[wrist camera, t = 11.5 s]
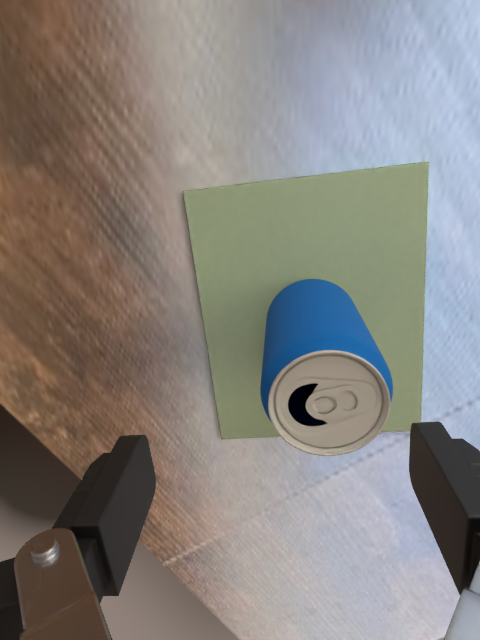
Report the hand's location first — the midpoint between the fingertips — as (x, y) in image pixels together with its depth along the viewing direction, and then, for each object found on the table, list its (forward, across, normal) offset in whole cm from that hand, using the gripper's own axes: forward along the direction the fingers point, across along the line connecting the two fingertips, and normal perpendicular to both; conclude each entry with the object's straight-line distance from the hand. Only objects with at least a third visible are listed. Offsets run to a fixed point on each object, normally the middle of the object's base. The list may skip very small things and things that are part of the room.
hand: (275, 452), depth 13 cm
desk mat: (+19, -3, +3) cm, 19 cm away
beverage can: (+19, -2, +3) cm, 19 cm away
